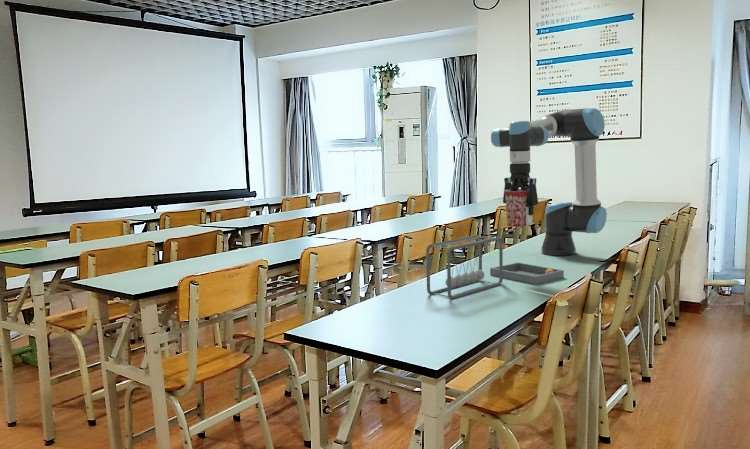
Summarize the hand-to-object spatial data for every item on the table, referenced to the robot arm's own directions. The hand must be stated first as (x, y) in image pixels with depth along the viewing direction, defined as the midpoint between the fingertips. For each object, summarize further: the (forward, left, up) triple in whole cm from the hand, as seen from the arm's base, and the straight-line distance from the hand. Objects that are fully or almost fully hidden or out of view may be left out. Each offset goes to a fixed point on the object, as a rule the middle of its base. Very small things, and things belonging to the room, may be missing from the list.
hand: (520, 222), depth 226 cm
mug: (0, 0, -1) cm, 1 cm away
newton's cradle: (+30, +1, -21) cm, 37 cm away
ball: (-5, +10, -20) cm, 23 cm away
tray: (0, +3, -21) cm, 21 cm away
